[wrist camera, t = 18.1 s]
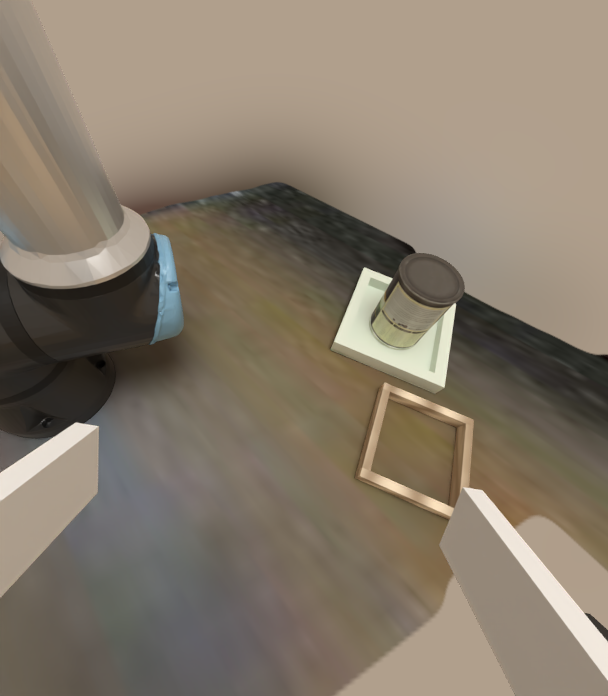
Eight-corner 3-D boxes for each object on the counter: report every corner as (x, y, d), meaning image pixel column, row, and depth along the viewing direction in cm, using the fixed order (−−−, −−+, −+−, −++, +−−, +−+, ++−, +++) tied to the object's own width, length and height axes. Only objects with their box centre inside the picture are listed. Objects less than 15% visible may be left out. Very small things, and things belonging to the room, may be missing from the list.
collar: (354, 477, 42) (359, 476, 40) (379, 387, 50) (384, 382, 47) (455, 522, 41) (466, 523, 39) (464, 423, 49) (473, 419, 46)
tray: (330, 350, 52) (334, 341, 49) (359, 277, 62) (364, 267, 59) (434, 393, 51) (444, 387, 48) (447, 312, 61) (456, 303, 58)
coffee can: (363, 306, 57) (392, 251, 45) (411, 306, 59) (451, 254, 47) (374, 351, 52) (410, 303, 40) (426, 350, 54) (475, 304, 42)
